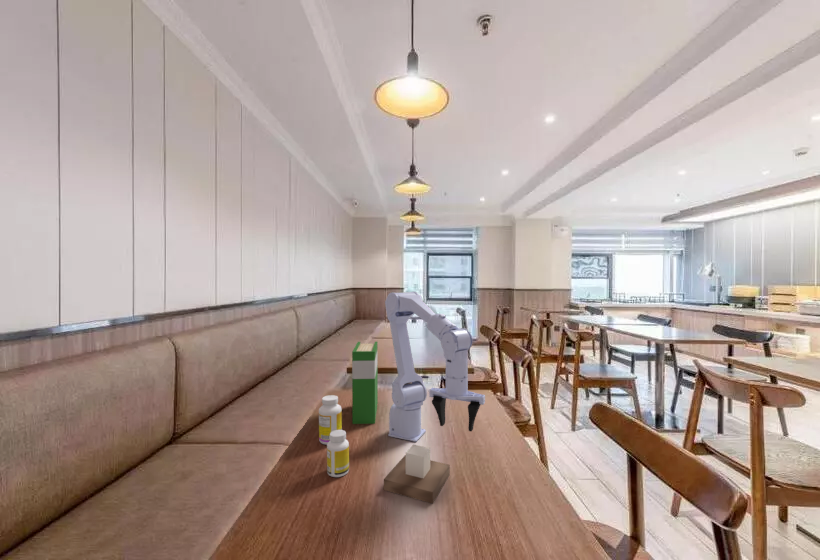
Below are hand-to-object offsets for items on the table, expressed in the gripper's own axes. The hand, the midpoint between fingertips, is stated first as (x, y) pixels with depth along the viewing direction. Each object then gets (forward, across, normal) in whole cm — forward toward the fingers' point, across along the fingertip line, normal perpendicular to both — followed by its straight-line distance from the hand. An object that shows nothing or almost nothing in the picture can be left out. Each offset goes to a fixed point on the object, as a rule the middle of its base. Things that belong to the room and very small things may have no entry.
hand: (456, 427), depth 92 cm
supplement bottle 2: (+10, -26, -16) cm, 32 cm away
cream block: (+7, -6, -12) cm, 15 cm away
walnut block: (+9, -6, -12) cm, 16 cm away
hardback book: (+10, -39, +19) cm, 44 cm away
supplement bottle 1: (+10, -38, -3) cm, 39 cm away
